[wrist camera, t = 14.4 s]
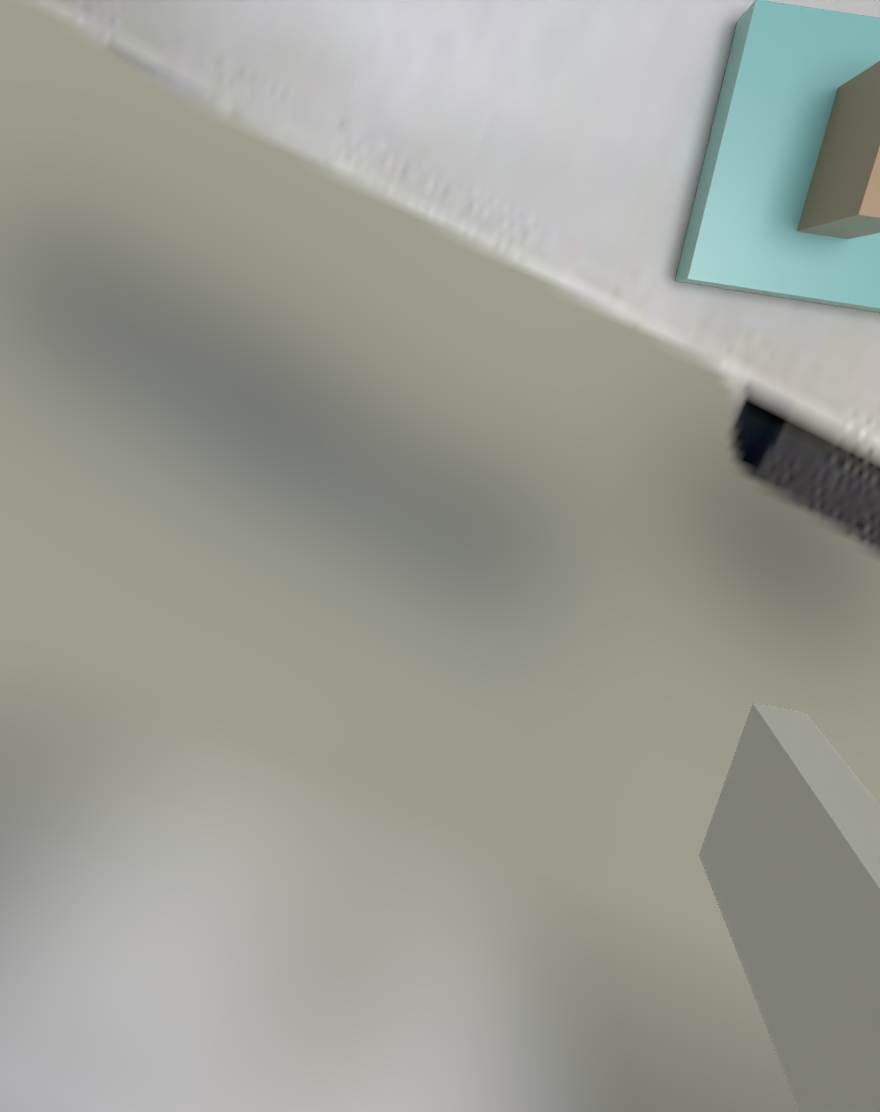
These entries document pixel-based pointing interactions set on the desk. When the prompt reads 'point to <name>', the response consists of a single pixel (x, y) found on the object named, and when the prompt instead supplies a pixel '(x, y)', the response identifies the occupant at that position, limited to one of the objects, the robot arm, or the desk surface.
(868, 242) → the lid
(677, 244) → the desk surface
